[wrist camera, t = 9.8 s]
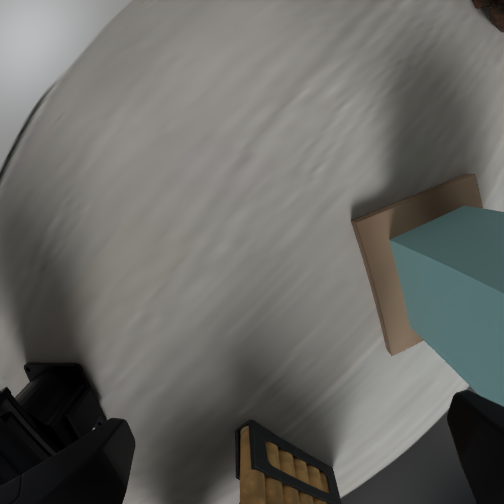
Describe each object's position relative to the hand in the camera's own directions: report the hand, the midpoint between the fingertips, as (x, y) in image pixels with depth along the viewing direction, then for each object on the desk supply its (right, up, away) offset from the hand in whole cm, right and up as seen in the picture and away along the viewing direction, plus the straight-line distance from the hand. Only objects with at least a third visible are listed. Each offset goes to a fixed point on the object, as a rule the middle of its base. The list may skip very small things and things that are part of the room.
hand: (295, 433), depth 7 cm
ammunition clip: (+2, -12, +16) cm, 21 cm away
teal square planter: (+12, +4, +12) cm, 17 cm away
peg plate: (+12, +4, +13) cm, 18 cm away
